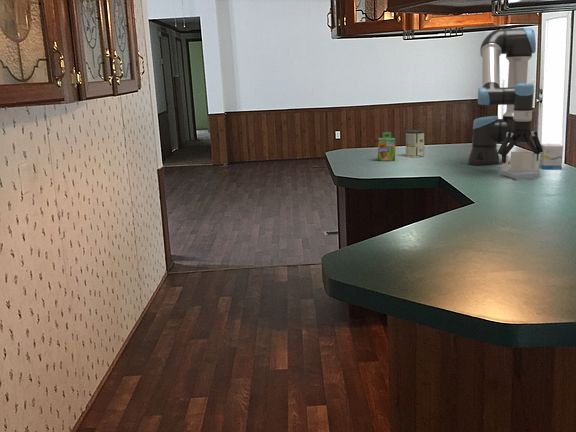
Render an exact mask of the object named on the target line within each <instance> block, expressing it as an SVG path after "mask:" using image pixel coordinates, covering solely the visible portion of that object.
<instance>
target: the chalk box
mask: <svg viewBox="0 0 576 432" xmlns="http://www.w3.org/2000/svg"><path fill="white" fill-rule="evenodd" d="M385 135H388V136H385ZM381 136H382V137H378V142H377V143H378V144H377V145H378V147H377V161H378V162H395V161H396V143H397V141H396V138H395V137H392V132H391V131H383V132H382V134H381Z"/></svg>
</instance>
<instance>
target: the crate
mask: <svg viewBox="0 0 576 432" xmlns="http://www.w3.org/2000/svg"><path fill="white" fill-rule="evenodd" d="M532 153H534V152H533V151H529V150H521V151H520V150H518V151H510V163H509V165H510V166H509V170H515V169H526V170H530V171H534V172H538V173H539V169H540V167H539V163H540V154H538V161H536V169H532V168H531V158H532Z"/></svg>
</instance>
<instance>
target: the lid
mask: <svg viewBox="0 0 576 432" xmlns="http://www.w3.org/2000/svg"><path fill="white" fill-rule="evenodd" d="M498 174H499V175H500V176H502V175H504V176H503V177H505V176H508V177H507V178H509V177H511V178H510V179H512V178H516V179H515V181H518V180H531V181H533V180H535V179H537V178H539V177H541V176H540V175H541V172H539V171H538V172H534V171H530V170H526V169H515V170H510V169H508V171H504V170H503V169H500V170H499V171H498Z"/></svg>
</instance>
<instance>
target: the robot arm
mask: <svg viewBox="0 0 576 432" xmlns="http://www.w3.org/2000/svg"><path fill="white" fill-rule="evenodd" d="M501 29H502V30H498V29H495V30H493V31H492V32H490V33H489V34H487V35H486V37H485V38H484V39H483V41H482V42H481V45H480V48H479V49H480V51H479V52H480V53H479V54H480V56H481V58H482V60H481V61H482V67H481V69H482V70H481V71H482V72H481V73H482V81H481V82H482V83H481V86H482V87H480V88H478V89H477V104H478V105H480V106H483V105H484V106H500V105H501V106H506V109H505V110H506V112H505V113H504V114H502V118H499V116H498V115H491V116H490V115H489V116H488V115H487V116H481V117H478V118H475V119H474V120H473V125H472V141H471V142H472V143H471V145H472V146H471V150H470V153H469V155H468V158H467V164H468V165H471V166H472V165H473V166H483V167H484V166H487V167H488V166H494V165H495V166H497V165H500V156H499V155H501V163H502V170H504V171H508V170H509V168H508V167H509V155H508V154H509V153H511V150H512V149H513V148H514V146H515V145H517V144H519V143H521V144H522V143H526V144H527V145H528V147H529V149H530V150H531V152H534V153H532V158H531V168H532V169H536V161H538V154H539V155H540V152H543V149H542V146H541V144H542V143H541V142H540V139H539V137H538V131H536V130H531V129H532V124H533V123H532V120H533V105H534V104H533V103H534V93H535V89H534V88H535V87H534V86H535V85H534V84H533V83H528V69H529V67H528V66H529V60H530V59H532V56H533V54H535V53H536V52H537V50H536V48H537V47H536V46H537V43H536V34H535V31H534V29H533V28H530V27H518V28H517V27H516V28H515V27H514V28H513V27H511V28H501ZM501 55H505V59H506V60H507V61H508V72H507V74H508V75H507V77H508V78H507V87H501V76H500V73H501V70H500V56H501ZM531 138H532V139H531ZM498 143H500V144H501V145H500V146H499V149H497V144H498Z"/></svg>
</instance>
